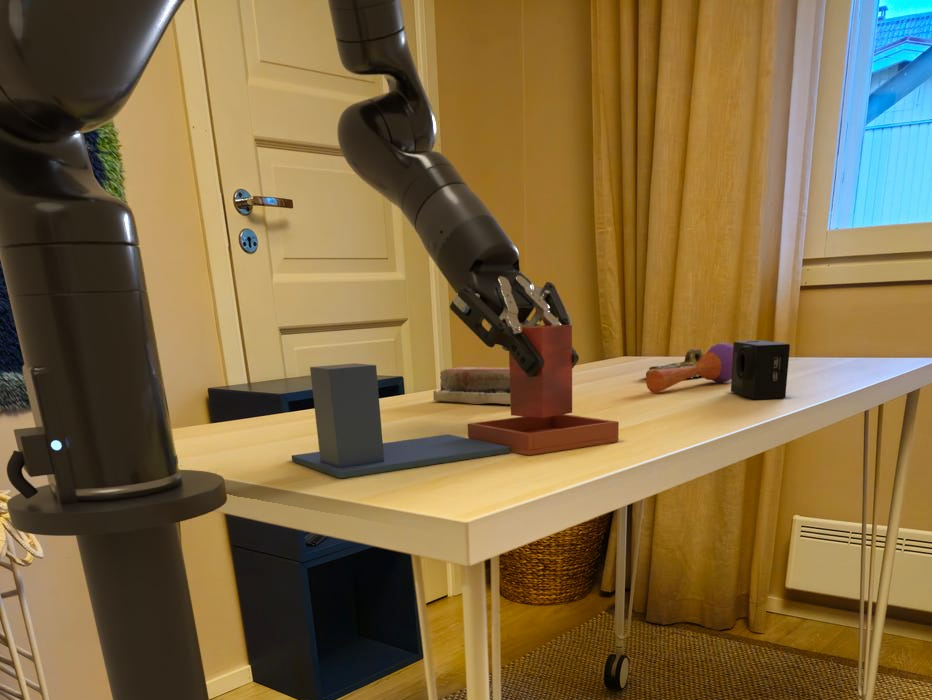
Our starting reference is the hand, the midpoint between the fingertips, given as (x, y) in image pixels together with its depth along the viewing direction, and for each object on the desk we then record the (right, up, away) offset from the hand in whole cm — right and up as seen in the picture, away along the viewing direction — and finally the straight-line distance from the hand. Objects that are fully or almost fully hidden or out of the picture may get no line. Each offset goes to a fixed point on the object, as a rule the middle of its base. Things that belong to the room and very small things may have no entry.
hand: (555, 367), depth 85 cm
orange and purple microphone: (+26, +12, +48) cm, 56 cm away
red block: (-1, -4, +3) cm, 5 cm away
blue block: (-19, -10, -6) cm, 23 cm away
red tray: (-1, -6, +4) cm, 8 cm away
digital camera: (+30, +7, +34) cm, 46 cm away
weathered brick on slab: (-5, +8, +41) cm, 43 cm away
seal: (+27, +19, +64) cm, 72 cm away
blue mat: (-15, -9, -1) cm, 18 cm away
